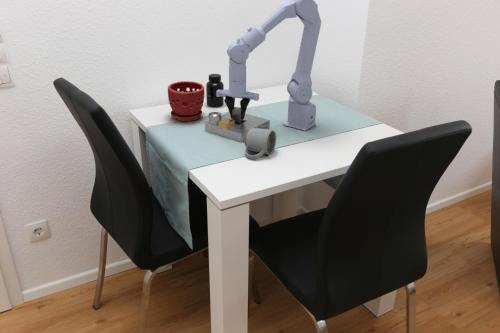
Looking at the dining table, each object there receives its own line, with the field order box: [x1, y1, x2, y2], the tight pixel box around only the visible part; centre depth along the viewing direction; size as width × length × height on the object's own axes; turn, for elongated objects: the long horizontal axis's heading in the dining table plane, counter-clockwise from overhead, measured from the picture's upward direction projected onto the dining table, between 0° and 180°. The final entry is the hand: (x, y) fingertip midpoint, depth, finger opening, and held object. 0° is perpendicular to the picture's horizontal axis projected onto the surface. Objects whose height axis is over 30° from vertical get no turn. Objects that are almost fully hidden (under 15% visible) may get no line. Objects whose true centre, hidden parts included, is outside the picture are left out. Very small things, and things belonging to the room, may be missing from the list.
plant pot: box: [167, 80, 205, 122], centre depth 172 cm, size 13×13×12 cm
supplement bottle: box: [205, 73, 225, 108], centre depth 185 cm, size 7×7×12 cm
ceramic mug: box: [244, 128, 277, 160], centre depth 145 cm, size 11×8×8 cm
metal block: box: [232, 106, 243, 125], centre depth 163 cm, size 3×3×7 cm
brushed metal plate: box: [204, 111, 271, 143], centre depth 163 cm, size 16×16×6 cm
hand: (237, 118), depth 162 cm, fingers closed on metal block, 3 cm apart
